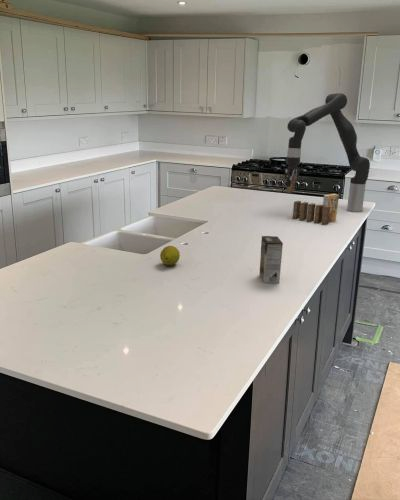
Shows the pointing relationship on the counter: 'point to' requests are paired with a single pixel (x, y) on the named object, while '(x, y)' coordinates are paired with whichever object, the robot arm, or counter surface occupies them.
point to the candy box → (333, 202)
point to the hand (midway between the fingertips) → (290, 185)
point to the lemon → (170, 255)
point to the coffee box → (270, 259)
